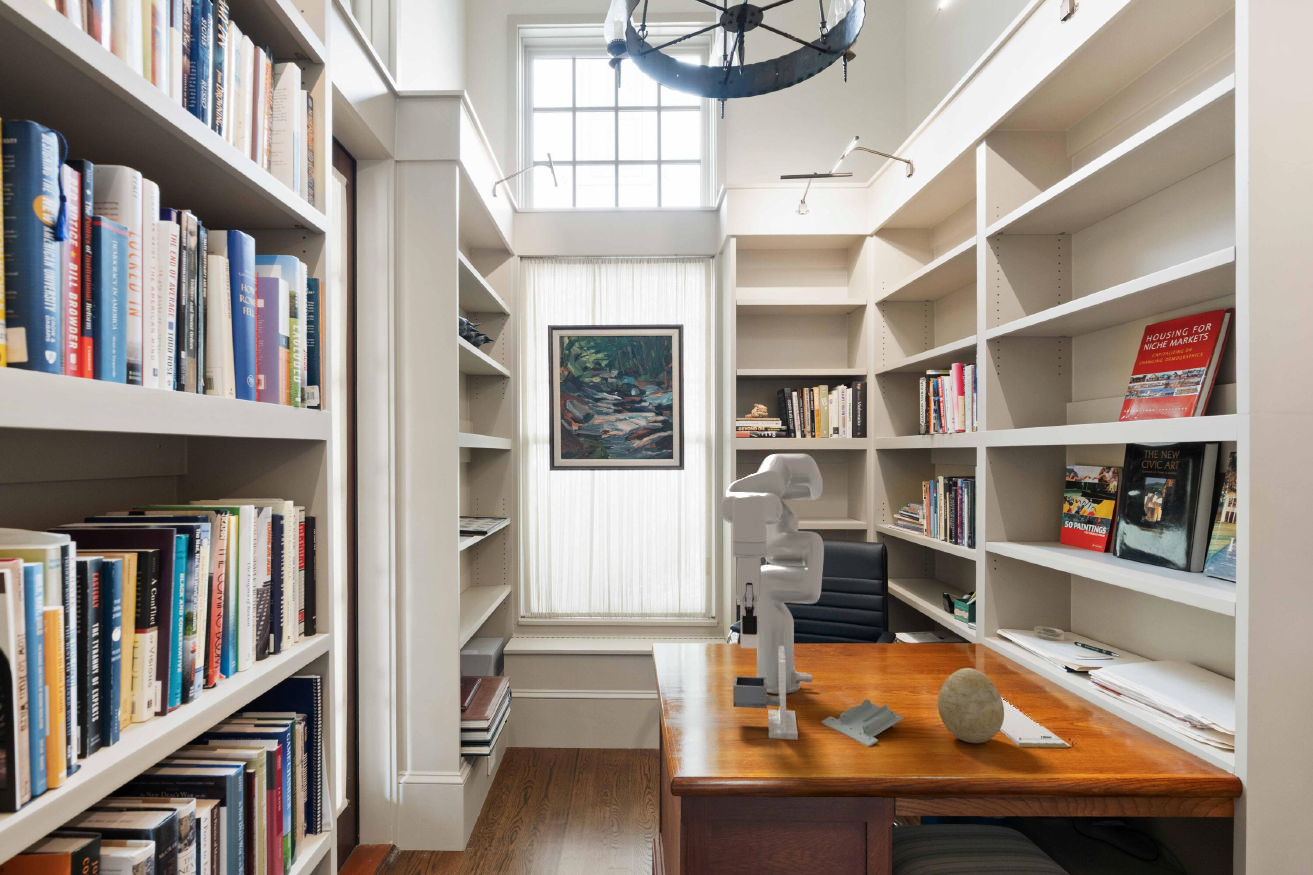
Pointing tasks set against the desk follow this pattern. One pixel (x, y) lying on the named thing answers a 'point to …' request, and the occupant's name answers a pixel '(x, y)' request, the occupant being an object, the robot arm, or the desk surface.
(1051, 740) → the baseboard
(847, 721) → the metal bracket
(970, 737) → the fossilized egg
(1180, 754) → the desk surface
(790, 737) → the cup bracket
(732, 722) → the desk surface
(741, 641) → the cream rectangular beam
